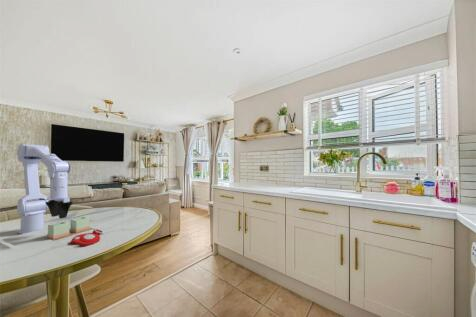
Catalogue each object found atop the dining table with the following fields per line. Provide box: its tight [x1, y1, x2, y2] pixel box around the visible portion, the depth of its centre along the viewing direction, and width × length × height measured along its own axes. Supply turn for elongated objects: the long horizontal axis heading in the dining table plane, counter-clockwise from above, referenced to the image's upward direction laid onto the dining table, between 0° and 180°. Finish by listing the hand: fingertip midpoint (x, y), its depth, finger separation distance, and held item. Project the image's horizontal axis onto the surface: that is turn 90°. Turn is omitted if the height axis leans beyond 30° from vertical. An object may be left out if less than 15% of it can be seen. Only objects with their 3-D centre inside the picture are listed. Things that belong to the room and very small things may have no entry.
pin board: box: [44, 227, 94, 241], centre depth 86 cm, size 10×15×4 cm, turn 155°
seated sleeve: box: [69, 216, 91, 232], centre depth 90 cm, size 6×6×6 cm
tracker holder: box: [69, 228, 104, 247], centre depth 78 cm, size 12×4×10 cm
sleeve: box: [47, 221, 70, 239], centre depth 83 cm, size 6×6×6 cm
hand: (58, 217), depth 83 cm, fingers open, 7 cm apart
